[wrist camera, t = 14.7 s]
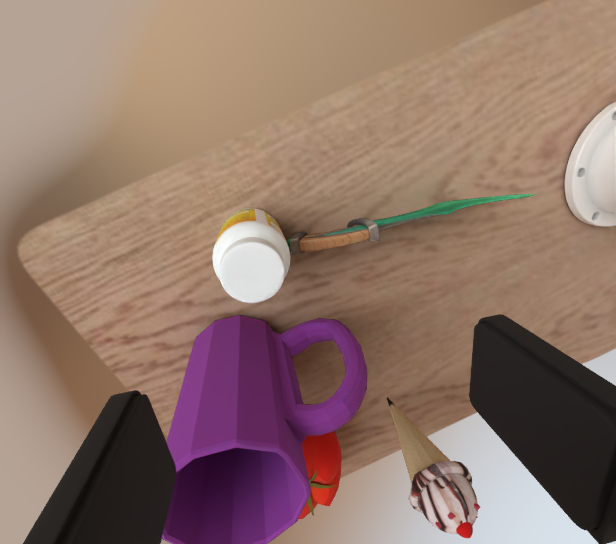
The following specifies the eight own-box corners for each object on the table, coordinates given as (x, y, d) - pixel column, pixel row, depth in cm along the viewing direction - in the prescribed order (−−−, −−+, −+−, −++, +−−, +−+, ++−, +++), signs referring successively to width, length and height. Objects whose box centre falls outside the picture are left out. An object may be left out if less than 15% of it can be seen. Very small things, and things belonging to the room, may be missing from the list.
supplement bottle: (288, 217, 28) (308, 245, 19) (271, 272, 29) (282, 321, 21) (228, 198, 27) (220, 219, 18) (213, 257, 28) (198, 303, 19)
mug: (171, 339, 30) (108, 496, 16) (317, 266, 30) (378, 359, 16) (221, 404, 33) (204, 578, 20) (351, 338, 34) (425, 464, 20)
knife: (285, 251, 29) (292, 268, 24) (280, 232, 28) (287, 246, 24) (493, 198, 31) (536, 205, 27) (494, 179, 30) (538, 183, 26)
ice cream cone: (354, 407, 37) (419, 556, 23) (382, 370, 36) (468, 503, 22) (391, 421, 39) (471, 567, 25) (418, 386, 38) (517, 519, 24)
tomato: (285, 473, 39) (294, 542, 32) (239, 435, 35) (237, 502, 28) (347, 430, 38) (370, 491, 31) (306, 387, 35) (321, 444, 28)
